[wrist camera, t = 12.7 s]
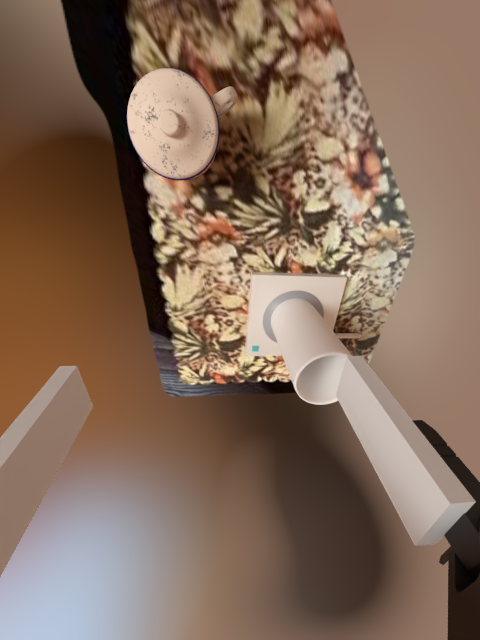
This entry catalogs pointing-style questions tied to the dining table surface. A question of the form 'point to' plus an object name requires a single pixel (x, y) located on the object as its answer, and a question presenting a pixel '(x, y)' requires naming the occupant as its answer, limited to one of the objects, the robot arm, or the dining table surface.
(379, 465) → the robot arm
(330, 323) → the pad
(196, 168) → the teacup with lid
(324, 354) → the cup
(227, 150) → the dining table surface
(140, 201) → the dining table surface
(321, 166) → the dining table surface
